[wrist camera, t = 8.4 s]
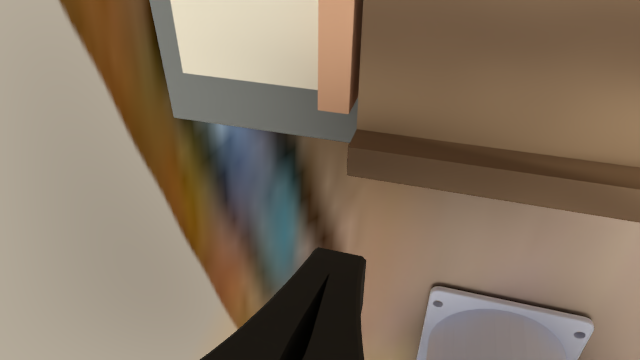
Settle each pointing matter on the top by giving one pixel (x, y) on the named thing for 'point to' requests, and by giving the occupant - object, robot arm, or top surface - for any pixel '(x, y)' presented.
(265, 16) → the lid
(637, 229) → the top surface
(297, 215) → the top surface
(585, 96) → the walnut box
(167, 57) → the slate mat
